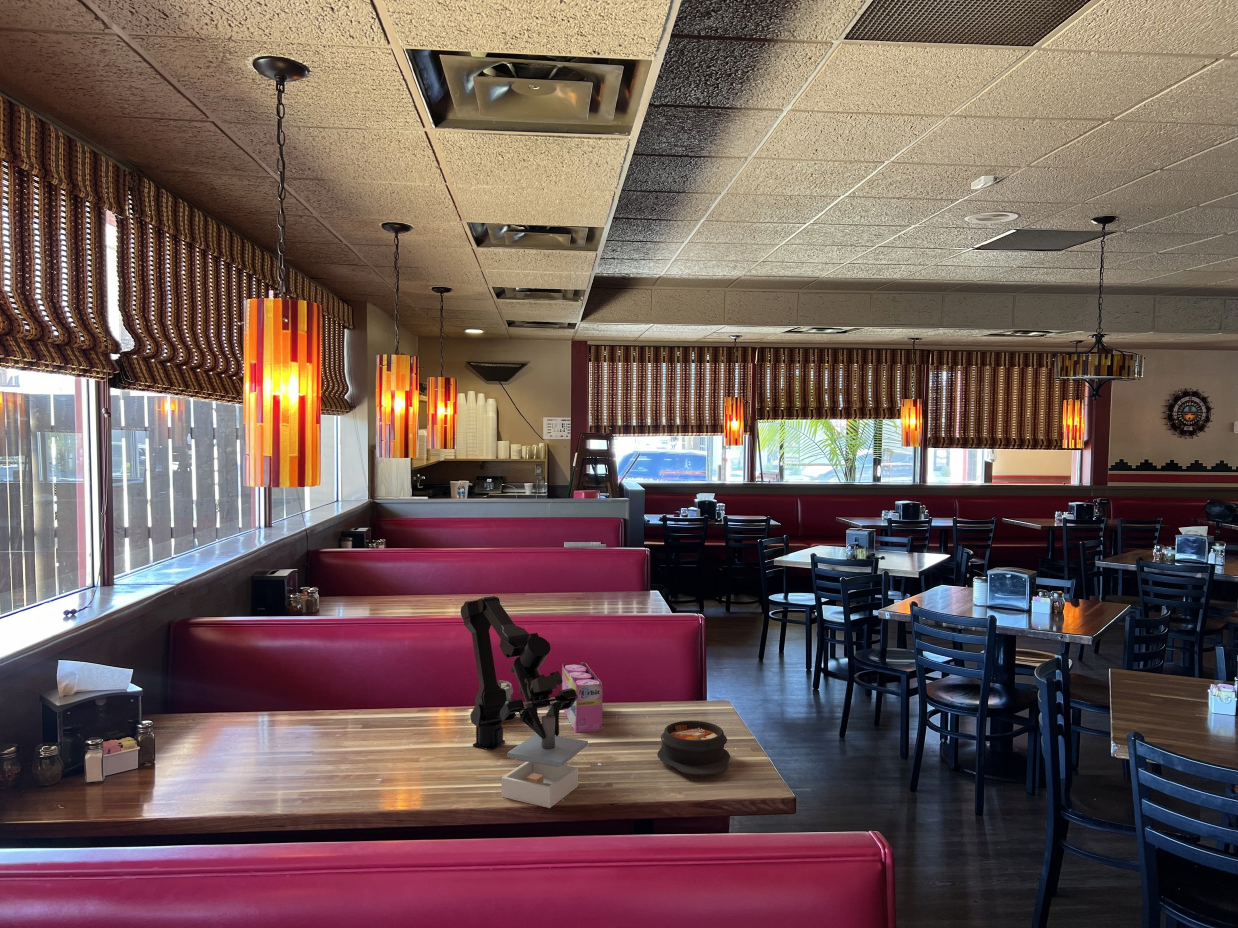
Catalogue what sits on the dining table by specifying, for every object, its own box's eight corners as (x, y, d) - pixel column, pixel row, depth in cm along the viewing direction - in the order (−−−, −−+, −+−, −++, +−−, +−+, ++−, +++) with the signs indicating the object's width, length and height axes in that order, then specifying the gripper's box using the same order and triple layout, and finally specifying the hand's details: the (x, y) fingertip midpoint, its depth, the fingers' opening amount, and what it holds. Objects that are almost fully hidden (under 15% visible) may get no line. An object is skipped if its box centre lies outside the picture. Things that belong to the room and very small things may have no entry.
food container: (505, 727, 240) (505, 693, 239) (484, 726, 241) (484, 691, 241) (518, 713, 252) (518, 680, 251) (499, 712, 253) (499, 679, 253)
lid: (507, 760, 194) (507, 722, 194) (536, 740, 207) (536, 704, 207) (561, 770, 189) (561, 731, 189) (587, 749, 202) (587, 712, 201)
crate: (501, 796, 194) (501, 777, 194) (531, 776, 206) (531, 757, 206) (549, 807, 188) (549, 788, 188) (578, 786, 200) (578, 767, 200)
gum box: (560, 706, 259) (560, 662, 258) (585, 704, 261) (585, 660, 260) (575, 732, 236) (575, 685, 235) (603, 730, 238) (603, 683, 237)
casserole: (647, 746, 226) (647, 715, 225) (713, 742, 229) (714, 711, 229) (670, 785, 201) (670, 750, 201) (744, 779, 205) (745, 745, 204)
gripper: (504, 666, 195) (526, 727, 187) (574, 655, 206) (597, 712, 197) (490, 691, 202) (510, 751, 194) (558, 679, 213) (580, 735, 204)
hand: (551, 736), depth 197 cm, fingers closed on lid, 3 cm apart
